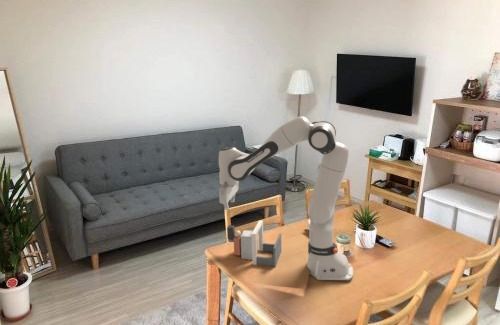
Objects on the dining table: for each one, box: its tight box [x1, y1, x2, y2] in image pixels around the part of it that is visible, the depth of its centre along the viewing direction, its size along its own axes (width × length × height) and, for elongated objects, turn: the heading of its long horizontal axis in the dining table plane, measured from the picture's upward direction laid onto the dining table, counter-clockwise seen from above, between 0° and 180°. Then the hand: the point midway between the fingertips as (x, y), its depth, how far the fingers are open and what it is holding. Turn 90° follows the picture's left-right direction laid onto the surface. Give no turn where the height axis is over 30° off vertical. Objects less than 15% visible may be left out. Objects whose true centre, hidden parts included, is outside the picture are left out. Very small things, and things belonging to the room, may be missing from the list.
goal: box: [252, 220, 282, 268], centre depth 193 cm, size 12×16×16 cm
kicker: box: [226, 224, 242, 256], centre depth 197 cm, size 7×5×14 cm
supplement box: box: [240, 230, 259, 260], centre depth 196 cm, size 7×7×13 cm
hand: (229, 205), depth 193 cm, fingers open, 8 cm apart
